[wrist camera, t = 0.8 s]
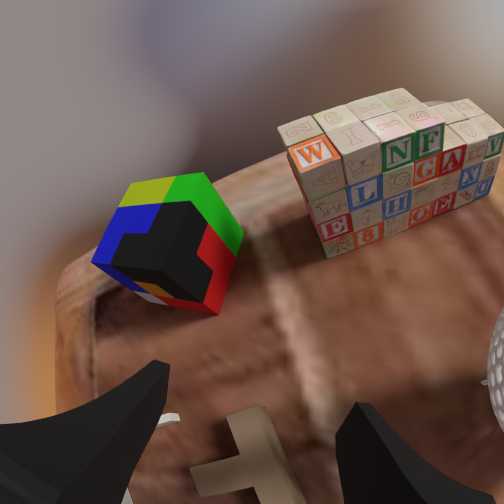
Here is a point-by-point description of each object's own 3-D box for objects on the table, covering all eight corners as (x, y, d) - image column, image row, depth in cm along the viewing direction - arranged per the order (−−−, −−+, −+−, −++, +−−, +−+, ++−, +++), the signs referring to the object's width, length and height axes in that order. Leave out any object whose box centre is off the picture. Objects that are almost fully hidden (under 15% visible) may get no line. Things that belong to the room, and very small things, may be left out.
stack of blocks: (460, 159, 28) (469, 73, 18) (489, 195, 24) (513, 106, 14) (307, 215, 32) (274, 125, 22) (326, 261, 28) (297, 171, 18)
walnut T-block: (306, 502, 17) (299, 513, 14) (229, 520, 17) (214, 529, 15) (265, 407, 23) (253, 406, 20) (194, 431, 23) (177, 431, 21)
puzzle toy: (149, 301, 33) (90, 262, 26) (177, 232, 38) (131, 183, 30) (219, 315, 29) (160, 270, 21) (244, 232, 34) (203, 172, 26)
